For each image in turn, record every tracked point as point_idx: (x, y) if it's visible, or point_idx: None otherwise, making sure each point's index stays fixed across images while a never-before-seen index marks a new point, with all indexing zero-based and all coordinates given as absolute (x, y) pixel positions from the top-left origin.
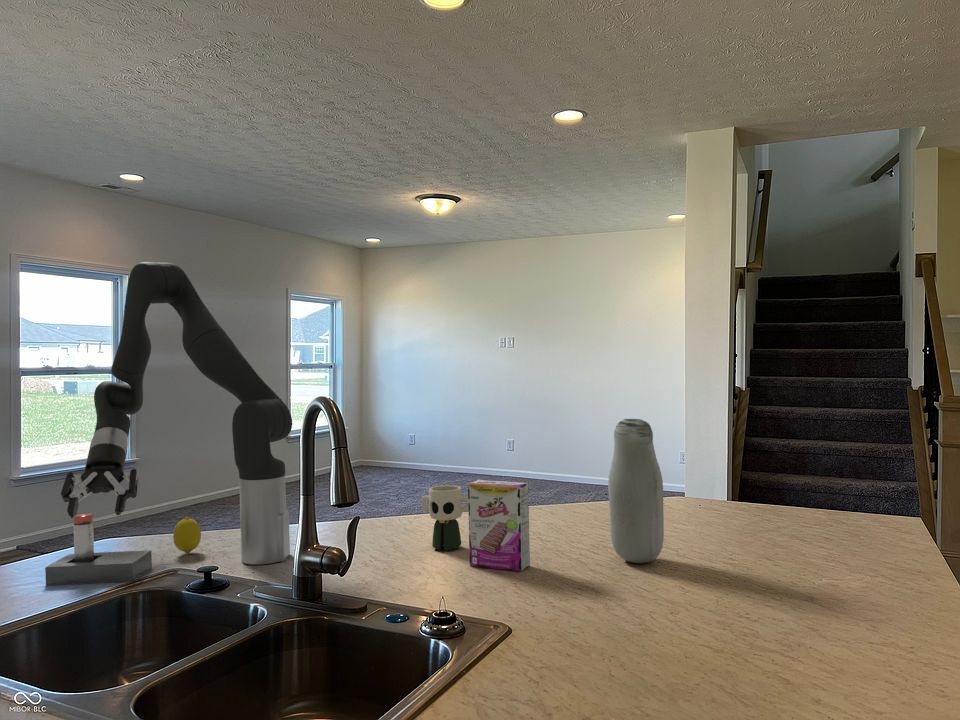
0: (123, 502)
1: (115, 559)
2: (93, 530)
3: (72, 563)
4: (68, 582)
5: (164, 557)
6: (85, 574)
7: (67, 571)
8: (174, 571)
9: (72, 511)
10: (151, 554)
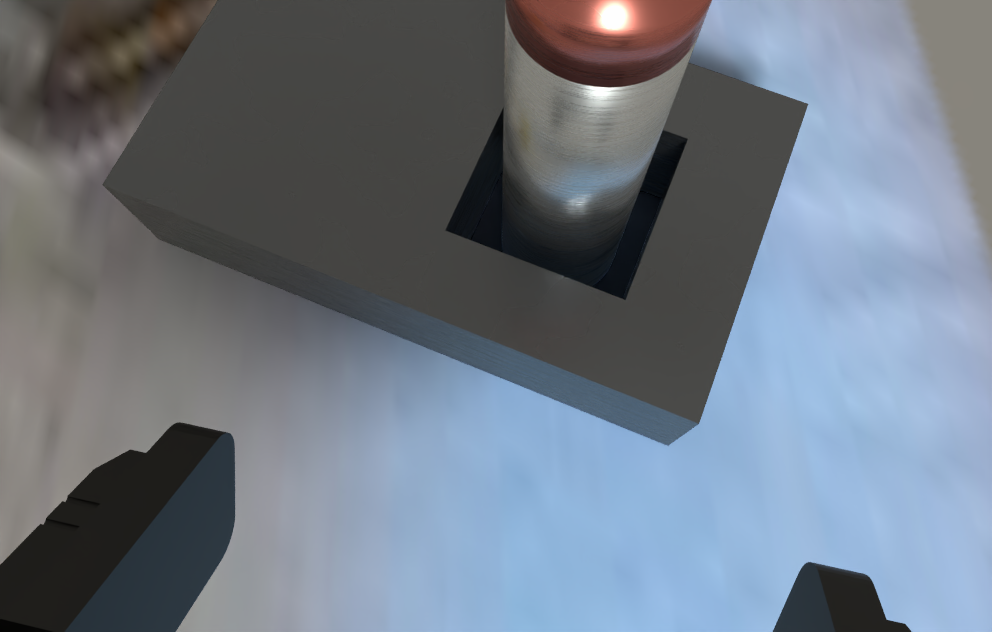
0: (47, 530)
1: (363, 59)
2: (504, 58)
3: None
4: None
5: (28, 475)
6: None
7: None
8: (59, 81)
9: (831, 570)
10: (118, 198)
